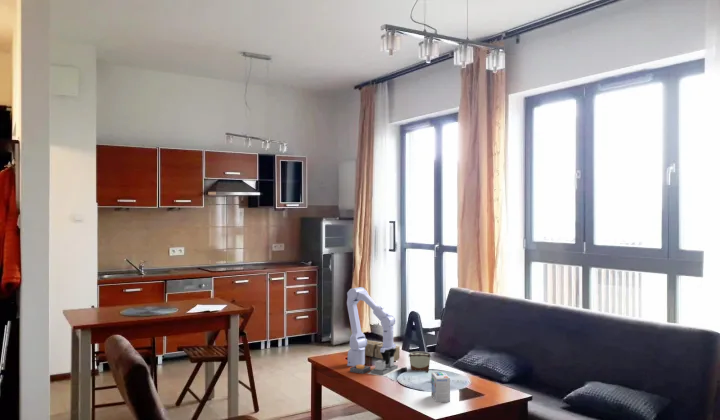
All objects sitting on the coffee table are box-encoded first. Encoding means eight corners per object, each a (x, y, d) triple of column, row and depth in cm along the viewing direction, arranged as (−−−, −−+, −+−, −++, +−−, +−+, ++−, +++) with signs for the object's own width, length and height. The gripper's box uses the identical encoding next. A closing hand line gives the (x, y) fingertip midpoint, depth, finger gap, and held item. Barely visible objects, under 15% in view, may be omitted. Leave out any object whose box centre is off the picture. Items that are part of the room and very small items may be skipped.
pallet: (366, 375, 300) (366, 370, 300) (383, 367, 316) (383, 362, 316) (385, 378, 294) (385, 373, 294) (401, 369, 310) (401, 365, 310)
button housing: (350, 373, 303) (350, 367, 303) (357, 370, 310) (357, 364, 310) (362, 375, 299) (362, 369, 299) (370, 372, 306) (370, 366, 306)
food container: (431, 369, 311) (430, 351, 311) (431, 372, 305) (431, 353, 305) (408, 369, 312) (408, 351, 312) (408, 372, 306) (408, 353, 306)
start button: (354, 371, 304) (354, 365, 304) (358, 369, 308) (358, 364, 308) (361, 372, 302) (361, 366, 302) (365, 370, 305) (365, 365, 305)
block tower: (401, 360, 336) (365, 351, 356) (401, 346, 336) (365, 338, 356) (392, 363, 330) (356, 353, 350) (393, 348, 330) (357, 340, 350)
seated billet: (375, 372, 300) (375, 361, 301) (378, 371, 304) (378, 360, 304) (381, 373, 298) (381, 362, 298) (385, 372, 302) (385, 360, 302)
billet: (383, 368, 308) (384, 357, 308) (387, 366, 311) (387, 355, 312) (390, 369, 306) (390, 358, 306) (393, 367, 309) (393, 356, 309)
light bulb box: (431, 395, 264) (430, 372, 264) (445, 394, 265) (445, 371, 265) (436, 402, 254) (435, 378, 254) (450, 402, 254) (450, 377, 254)
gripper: (388, 341, 301) (388, 366, 301) (400, 336, 313) (400, 361, 313) (376, 340, 305) (376, 365, 304) (389, 335, 317) (389, 359, 317)
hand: (388, 363), depth 309 cm, fingers closed on billet, 4 cm apart
